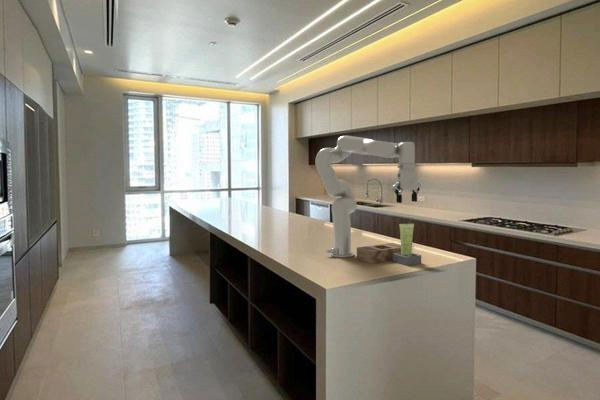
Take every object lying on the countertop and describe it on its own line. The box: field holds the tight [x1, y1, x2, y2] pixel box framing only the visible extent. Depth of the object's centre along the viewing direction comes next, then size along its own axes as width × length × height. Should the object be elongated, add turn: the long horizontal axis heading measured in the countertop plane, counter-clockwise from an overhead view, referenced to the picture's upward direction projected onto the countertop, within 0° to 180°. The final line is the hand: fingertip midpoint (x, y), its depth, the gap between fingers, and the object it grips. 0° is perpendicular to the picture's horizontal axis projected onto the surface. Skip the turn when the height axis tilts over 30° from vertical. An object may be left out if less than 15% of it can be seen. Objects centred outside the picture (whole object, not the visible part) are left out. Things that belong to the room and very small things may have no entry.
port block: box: [356, 242, 401, 264], centre depth 198 cm, size 24×12×6 cm, turn 116°
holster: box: [392, 252, 422, 267], centre depth 188 cm, size 9×10×4 cm
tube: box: [399, 223, 415, 257], centre depth 188 cm, size 6×5×20 cm
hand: (406, 202), depth 186 cm, fingers open, 9 cm apart
